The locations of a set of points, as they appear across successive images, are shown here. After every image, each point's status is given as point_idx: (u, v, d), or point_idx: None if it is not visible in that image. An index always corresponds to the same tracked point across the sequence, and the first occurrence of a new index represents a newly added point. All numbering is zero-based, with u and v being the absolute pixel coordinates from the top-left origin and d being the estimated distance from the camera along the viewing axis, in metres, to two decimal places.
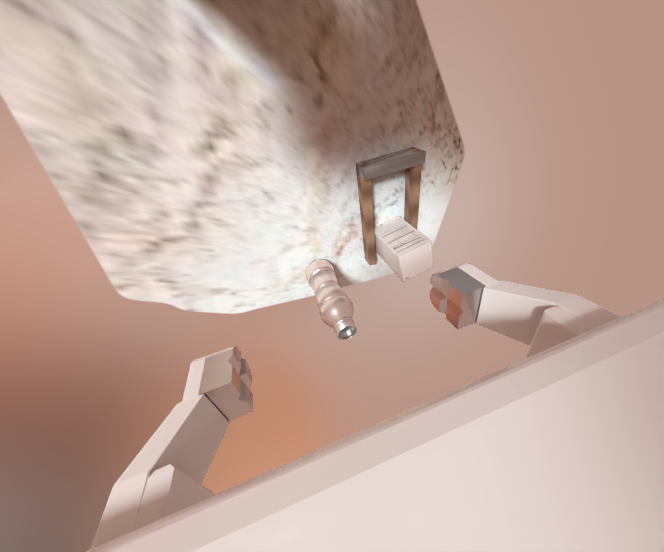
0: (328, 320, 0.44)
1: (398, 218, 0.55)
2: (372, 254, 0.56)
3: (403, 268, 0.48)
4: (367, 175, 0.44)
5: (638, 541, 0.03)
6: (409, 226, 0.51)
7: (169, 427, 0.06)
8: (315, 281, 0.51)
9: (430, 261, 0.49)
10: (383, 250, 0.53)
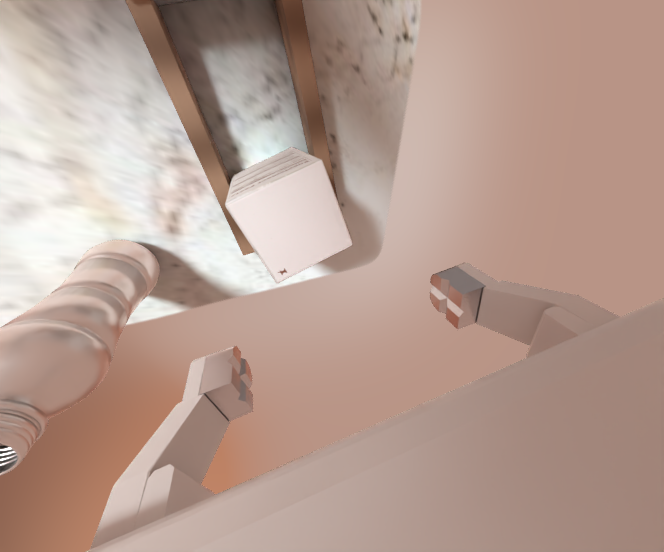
0: None
1: (288, 149, 0.25)
2: (239, 229, 0.26)
3: (258, 243, 0.18)
4: None
5: (639, 542, 0.03)
6: (297, 153, 0.22)
7: (169, 427, 0.06)
8: None
9: (338, 227, 0.19)
10: None
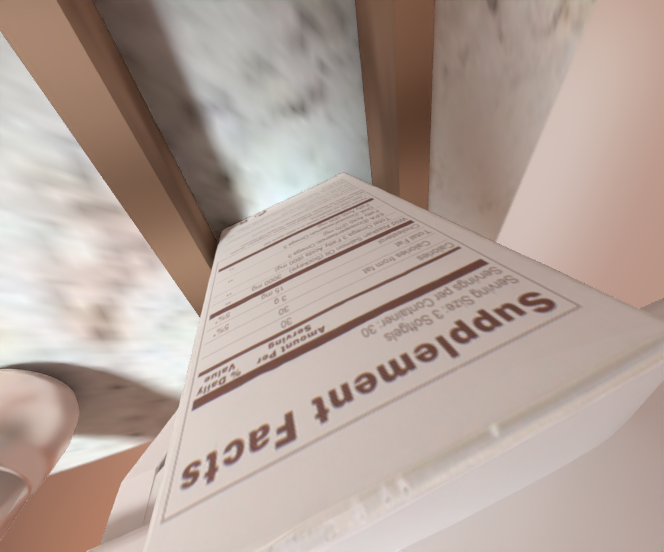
0: None
1: (340, 178, 0.12)
2: None
3: None
4: None
5: (638, 542, 0.03)
6: (383, 201, 0.08)
7: None
8: None
9: None
10: None
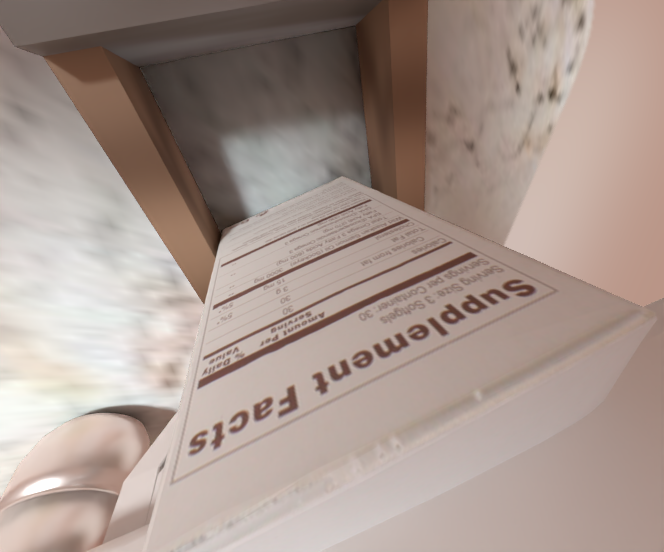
0: None
1: (339, 181, 0.12)
2: None
3: None
4: None
5: (638, 541, 0.03)
6: (381, 202, 0.09)
7: None
8: None
9: None
10: None
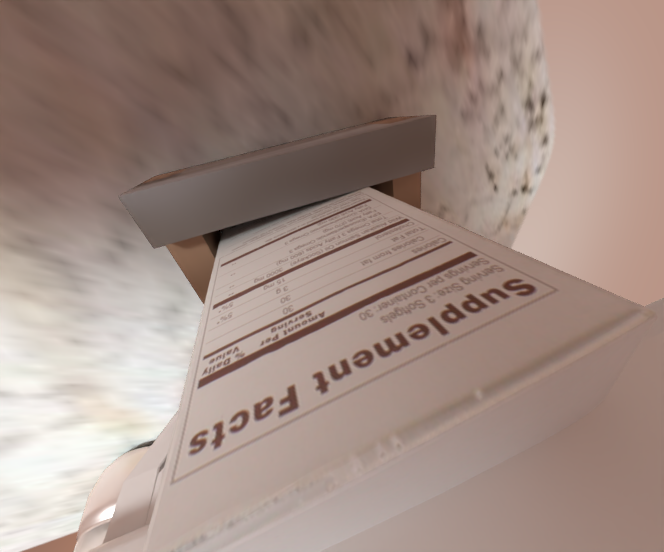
0: None
1: None
2: None
3: None
4: (154, 227, 0.09)
5: (637, 542, 0.03)
6: (381, 201, 0.09)
7: None
8: None
9: None
10: None
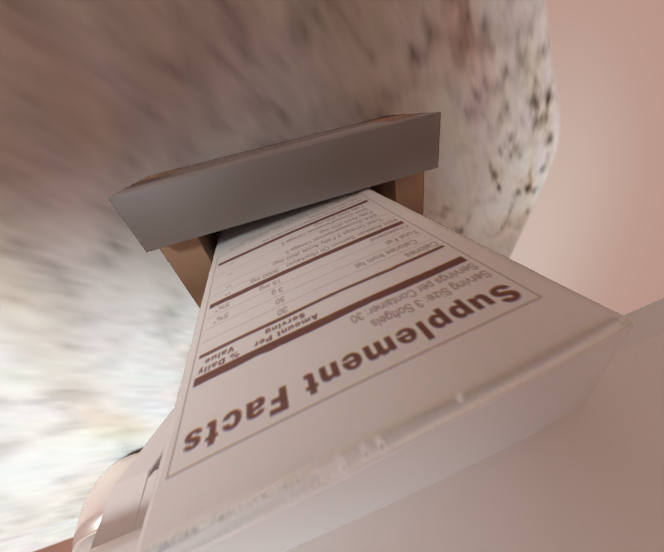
0: None
1: None
2: None
3: None
4: (146, 229, 0.09)
5: (638, 542, 0.03)
6: (377, 203, 0.09)
7: None
8: None
9: None
10: None
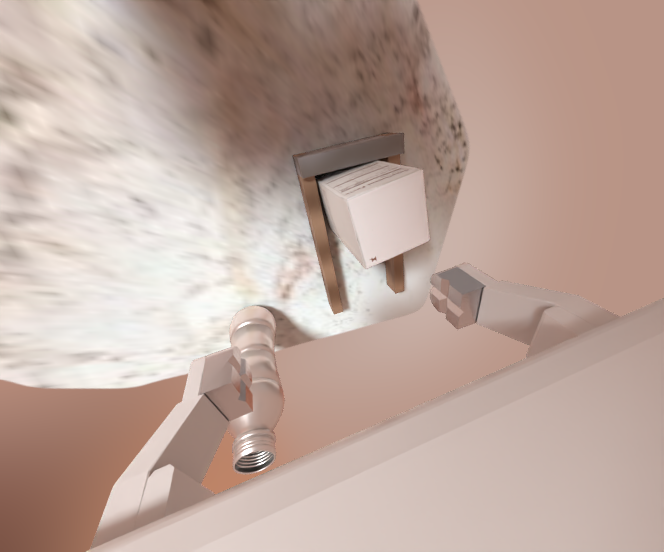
0: (228, 429, 0.23)
1: None
2: (335, 298, 0.37)
3: (362, 233, 0.22)
4: (305, 170, 0.26)
5: (638, 542, 0.03)
6: (381, 163, 0.26)
7: (169, 427, 0.06)
8: (234, 344, 0.31)
9: (422, 224, 0.23)
10: (331, 210, 0.27)
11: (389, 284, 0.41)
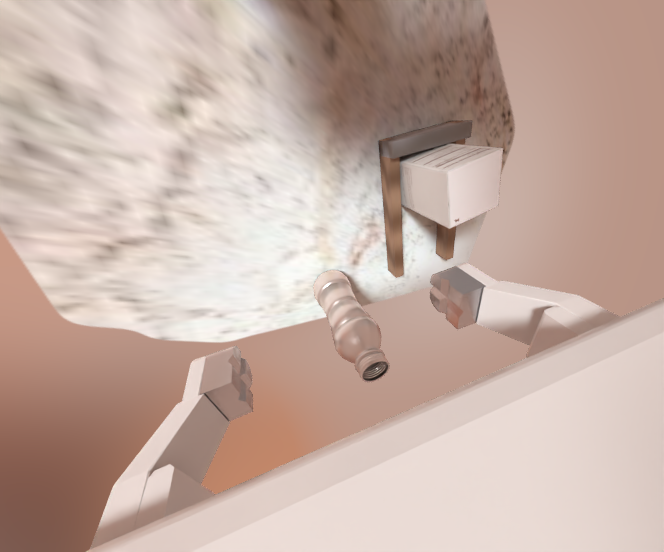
0: (347, 352, 0.30)
1: None
2: (399, 262, 0.44)
3: (453, 198, 0.29)
4: (395, 151, 0.32)
5: (638, 542, 0.03)
6: (455, 145, 0.33)
7: (169, 427, 0.06)
8: (326, 298, 0.38)
9: (495, 192, 0.30)
10: (414, 185, 0.34)
11: (439, 253, 0.48)
